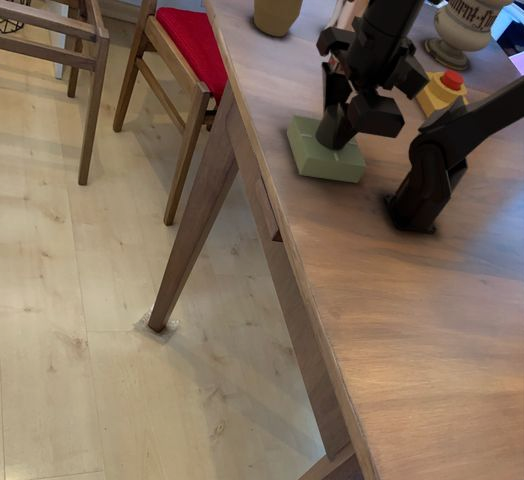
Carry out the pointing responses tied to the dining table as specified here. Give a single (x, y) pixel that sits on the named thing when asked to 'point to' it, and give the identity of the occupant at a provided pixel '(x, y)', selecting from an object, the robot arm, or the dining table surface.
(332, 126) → the knob
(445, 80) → the button
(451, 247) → the dining table surface
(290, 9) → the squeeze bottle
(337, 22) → the beer glass
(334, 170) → the panel
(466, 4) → the apothecary jar
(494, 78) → the dining table surface
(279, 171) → the dining table surface
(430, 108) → the button block
